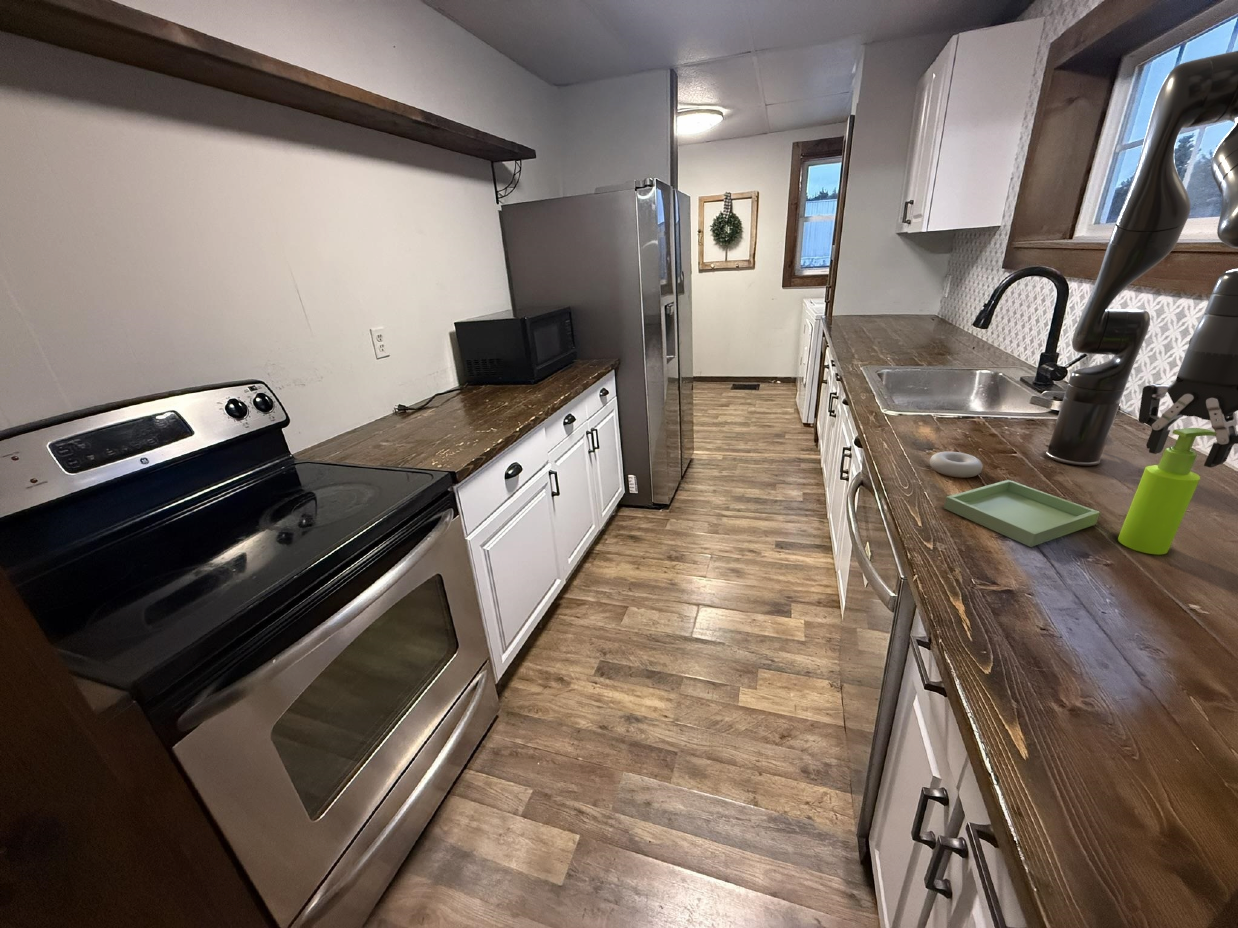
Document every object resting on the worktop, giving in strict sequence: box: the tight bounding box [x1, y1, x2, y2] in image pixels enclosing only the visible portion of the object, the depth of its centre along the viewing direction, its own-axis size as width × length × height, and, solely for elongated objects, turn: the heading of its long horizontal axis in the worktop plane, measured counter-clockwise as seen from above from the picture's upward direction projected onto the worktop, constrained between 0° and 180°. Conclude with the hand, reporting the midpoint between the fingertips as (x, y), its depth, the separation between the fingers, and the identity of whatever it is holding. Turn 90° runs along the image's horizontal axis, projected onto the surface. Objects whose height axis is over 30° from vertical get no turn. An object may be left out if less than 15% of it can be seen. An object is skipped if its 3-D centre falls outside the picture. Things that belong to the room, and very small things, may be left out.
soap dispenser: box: [1117, 427, 1216, 555], centre depth 78 cm, size 6×7×20 cm
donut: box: [929, 450, 984, 479], centre depth 111 cm, size 10×4×10 cm
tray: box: [943, 479, 1101, 548], centre depth 92 cm, size 18×16×2 cm
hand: (1181, 458), depth 76 cm, fingers open, 5 cm apart
